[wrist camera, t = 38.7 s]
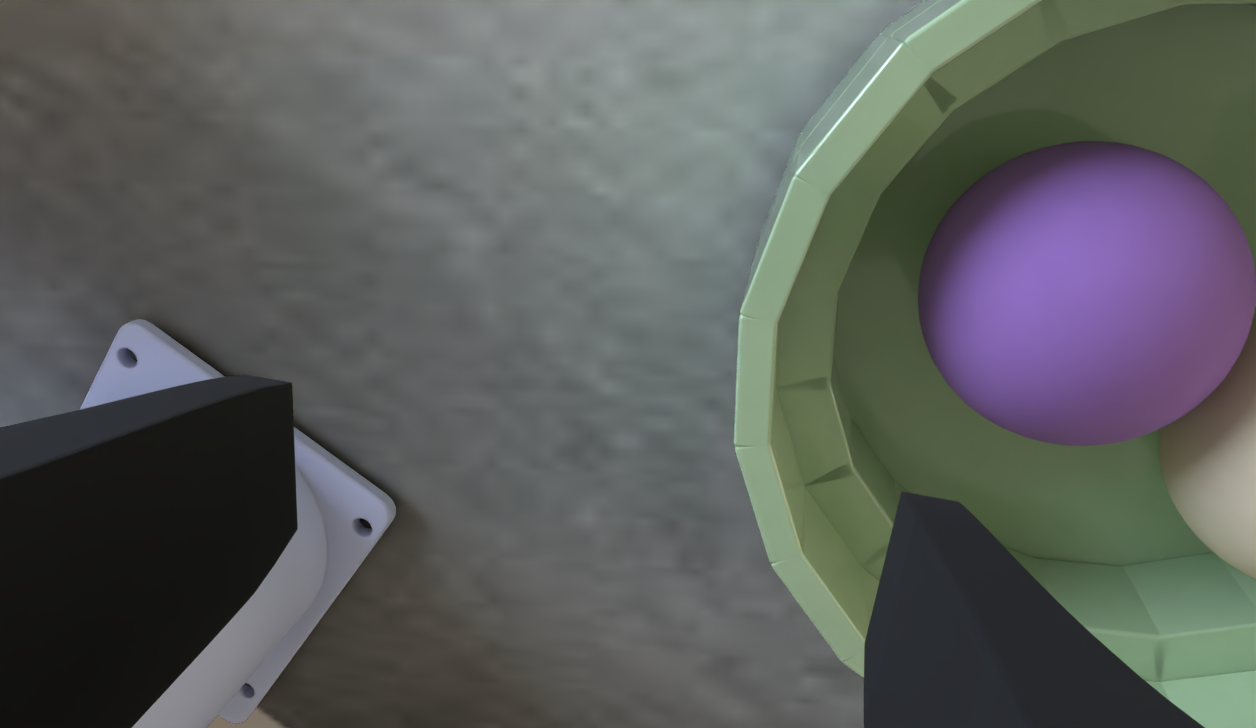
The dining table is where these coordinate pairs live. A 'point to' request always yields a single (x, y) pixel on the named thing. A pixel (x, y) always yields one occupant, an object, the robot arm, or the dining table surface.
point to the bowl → (902, 366)
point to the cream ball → (1218, 464)
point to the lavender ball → (1087, 293)
